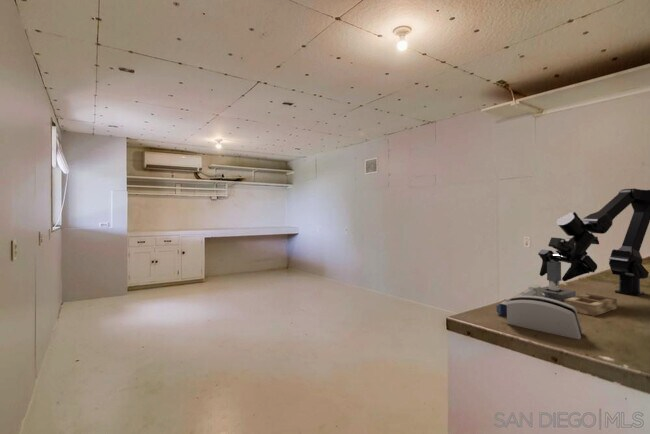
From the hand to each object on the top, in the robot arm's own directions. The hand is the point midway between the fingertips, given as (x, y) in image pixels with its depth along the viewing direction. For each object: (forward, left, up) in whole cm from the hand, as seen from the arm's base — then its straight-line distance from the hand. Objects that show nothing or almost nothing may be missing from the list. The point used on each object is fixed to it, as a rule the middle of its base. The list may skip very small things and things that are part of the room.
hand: (551, 277), depth 115 cm
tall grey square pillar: (-1, 0, -7) cm, 8 cm away
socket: (-1, 0, -7) cm, 8 cm away
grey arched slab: (+33, +15, -8) cm, 37 cm away
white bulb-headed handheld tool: (+18, +1, -8) cm, 20 cm away
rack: (+2, +12, -7) cm, 15 cm away
